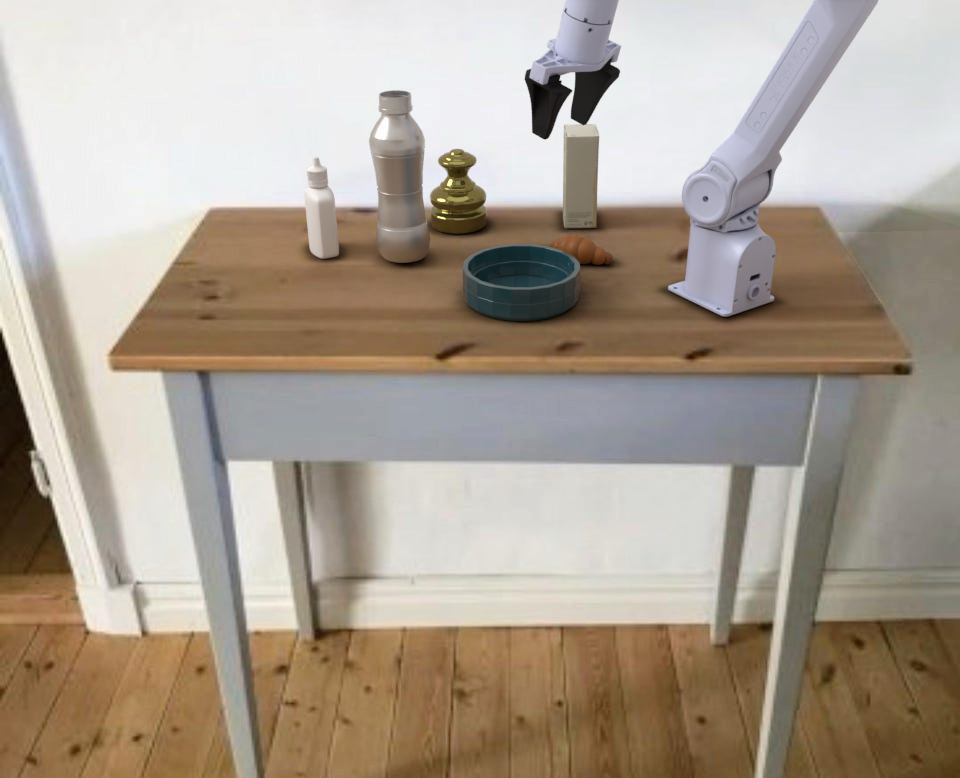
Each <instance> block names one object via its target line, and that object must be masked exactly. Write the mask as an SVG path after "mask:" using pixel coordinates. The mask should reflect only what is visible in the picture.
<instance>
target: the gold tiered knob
mask: <svg viewBox="0 0 960 778" xmlns="http://www.w3.org/2000/svg"><path fill="white" fill-rule="evenodd" d="M477 162H478V161H477V157H476V156H475V155H474V154H472V153H471V152H467V151H465V150H464V149H462V148H454V149H451V150H450V151H448V152H445V153H444V154H441V155H440V156H439V157H438V159H437V163H438V165H439V166H440V167H441V168H443V169H444V170H445V171H446V174H447V176H446V177H445V178H444V180H443V181H441V182H440V183H439V185H438V186H436V187H434V188H433V189H432V190H431V192H430V194H429V200H430V203H431V205H432V207H431V208H430V220H431V221H430V225H431V226H432V228H433V229H435V230H436V231H438V232H441V233H445V234H450V235H451V234H452V235H461V234H462V235H464V234H471V233H475V232H478V231H480V230H482V229H483V228H484V227H486V225H487V207H486V206H485V203H486V201H487V192H486V190H485V189H484V188H483V187H482V186H481V185H477V183H476V182H475V181H474V180H472V179H471V177H470V176H469V172H470V170H471V169H472V167H474V166H475V165H476V164H477Z"/></svg>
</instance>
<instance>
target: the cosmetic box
mask: <svg viewBox="0 0 960 778" xmlns="http://www.w3.org/2000/svg"><path fill="white" fill-rule="evenodd" d="M599 149H600V132H599V129H598V126H597V124H596V123H587V124H586V125H582V124H580V123H577V124H575V123H574V124H563V159H562V160H563V163H562V169H563V170H562V173H563V175H562V220H563V226H564V227H563V228H564V229H595V228H597V217H598V181H599V180H598V178H599V152H600V150H599Z"/></svg>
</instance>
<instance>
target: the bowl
mask: <svg viewBox="0 0 960 778" xmlns="http://www.w3.org/2000/svg"><path fill="white" fill-rule="evenodd" d="M580 283H581V264H580V263H579V262H578V261H577V260H576V258H575V257H574V256H572V255H570V254H568V253H566V252H564V251H562V250H559V249H555V248H551V246H547V245H541V244H532V243H531V244H530V243H529V244H528V243H512V244H503V245H496V246H495V245H494V246H491V247H487V248H484V249H481V250H478V251H477V252H473V253H472V254H470V255H469V256H468V257H467V258H466V259H465V260H464V261H463V264H462V298H463V300H464V301H465V302H466V304H467V305H468V306H469V307H471V308H472V309H473V310H475V311H476V312H477V313H479V314H481V315H483V316H486V317H488V318H492V319H497V320H503V321H511V322H533V321H539V320H547V319H550V318H554V317H557V316H559V315H561V314H563V313H565V312H567V311H569V309H571V308H572V307H574V306H575V304H576V303H577V301H578V300H579V299H580V287H581V286H580V285H581V284H580Z"/></svg>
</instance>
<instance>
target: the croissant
mask: <svg viewBox="0 0 960 778" xmlns="http://www.w3.org/2000/svg"><path fill="white" fill-rule="evenodd" d="M550 247H551V248H555V249H559V250H562V251H564V252H566V253H568V254H570V255H572V256H574V257H575V258H576V260H577V261H578V262H579V263H580V265H587V264H590V263H591V264H592V265H595V266H600V265H602V264H603V265H610V264H611V263H612V262H613V260H614V256H613V254H612V253H611V252H610V251H607V250H606V249H605V248H603V247H602V246H597V244H596V243H595V241H594V240H593V239H591V238H589V237H585V236H581V235H577V234H571V233H569V234H565V235H562V236H561V237H560V238H559V237H558V238H556V239H555V240H554V241H553V242H552V243H551V245H550Z"/></svg>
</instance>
